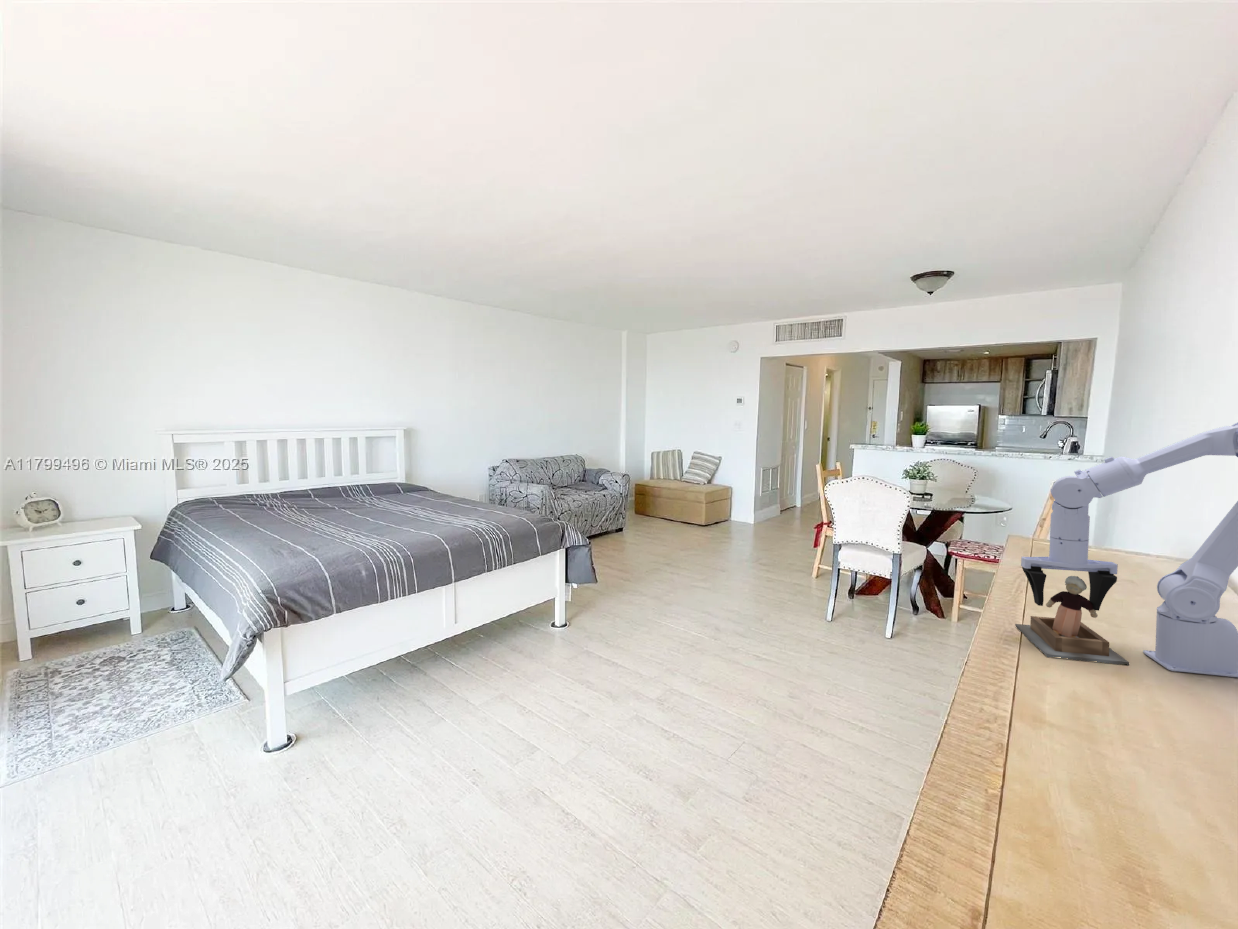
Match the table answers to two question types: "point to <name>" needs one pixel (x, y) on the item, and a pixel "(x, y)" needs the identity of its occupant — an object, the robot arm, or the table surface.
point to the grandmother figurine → (1070, 607)
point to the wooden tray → (1069, 642)
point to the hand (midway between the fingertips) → (1065, 606)
